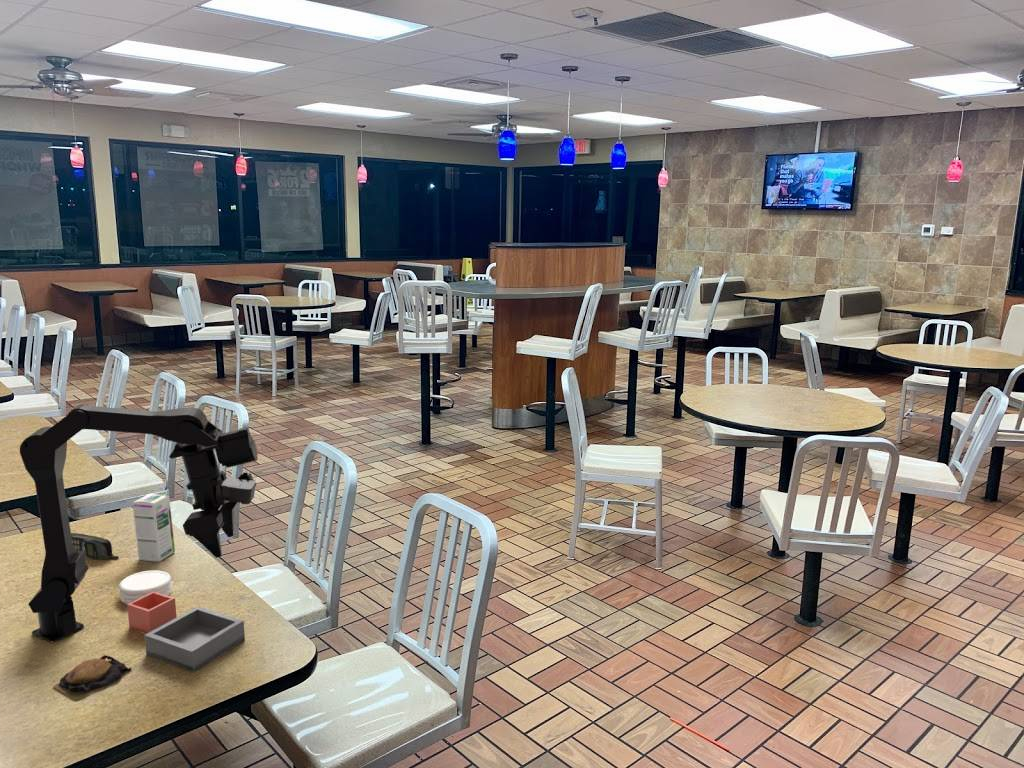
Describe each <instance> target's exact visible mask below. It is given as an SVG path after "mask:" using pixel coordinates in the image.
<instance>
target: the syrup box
mask: <svg viewBox="0 0 1024 768" xmlns="http://www.w3.org/2000/svg"><path fill="white" fill-rule="evenodd" d="M132 510H133V511H132V512H133V519H134V527H135V528H134V529H135V537H136V545H137V555H138V560H141V561H146V562H148V561H149V562H158V563H160V562H162V560H164V559H166V558H167V557H169V556H170V555H172V554H175V552H176V548H175V547H176V546H175V541H174V537H175V536H174V530H173V529H174V528H173V519H172V511H171V500H170V495H168V494H163V493H147V494H146V495H145V496H142V497H141V498H139V499H137V500H134V501H133V502H132Z"/></svg>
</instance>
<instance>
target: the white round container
mask: <svg viewBox="0 0 1024 768" xmlns="http://www.w3.org/2000/svg"><path fill="white" fill-rule="evenodd" d="M118 589H119V592H118V593H119V600H120V601H121V602H122V603H123V604H124V605H125V604H126V605H127V604H129V603H131V602H133V601H135V600H137V599H139V598H141V597H143V596H145V595H147V594H149V593H151V592H153V591H154V592H157V593H160V594H164V595H167V596H170V595H171V593H172V590H173V587H172V577H171V575H170V574H169V573H168V572H166V571H163V570H155V569H154V570H143V571H139V572H136V573H132V574H130V575H128V576H127V577H125V578H124V579H122V580H121V581H120V582H119V585H118Z"/></svg>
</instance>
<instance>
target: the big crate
mask: <svg viewBox="0 0 1024 768" xmlns="http://www.w3.org/2000/svg"><path fill="white" fill-rule="evenodd" d="M244 622H245V621H244V620H242V619H239V618H236V617H233V616H230V615H227V614H224V613H220V612H217V611H214V610H211V609H207V608H204V607H201V606H195V607H194V608H192V609H190V610H189V611H185V613H183V614H180V615H179V616H177V618H175V619H173V620H171V621H169V622H168V623H166V624H164V625H162V626H160V627H158V628H157V629H155V630H153V631H151V632H149V633H147V634H145V633H144V646H145V655H146V656H148V657H150V658H153V659H156V660H158V661H161V662H164V663H165V664H166V663H167V664H170V665H172V666H175V667H177V668H180V669H183V670H186V671H189V672H192V673H195V672H198V670H200V669H201V668H204V666H206V665H208V664H209V663H211V662H212V661H214V660H216V659H218V658H220V656H222V655H223V654H225V653H227V652H229V651H230V650H231V649H233V648H235V647H237V646H238V645H239V644H241V643H243V642H245V640H246V638H245V637H246V634H245V623H244Z"/></svg>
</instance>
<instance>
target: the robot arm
mask: <svg viewBox="0 0 1024 768" xmlns="http://www.w3.org/2000/svg"><path fill="white" fill-rule="evenodd" d="M82 430H89V431H90V430H94V431H104V432H105V431H106V432H118V433H128V434H129V433H131V434H142V435H143V434H144V435H152V436H155V437H159V438H161V439H164V440H165V441H168V442H174V443H175V445H174V447H173V450H172V451H171V453H170V454H169V459H176V458H180V457H181V459H182V462H183V466H184V469H185V472H186V475H187V479H188V483H187V484H186V485H185V486H186V490H187V491H190V490H191V492H192V497H193V499H194V502H193V504H192V508H193V510H194V512H191V513H190V514H189V516H188V517H187V518H186V519H185V521H184V523H183V524H182V528H183V530H184V535H186V536H189V537H193V538H194V539H195V540H197V541H198V542H199V544H201V545H202V546H203V547H204V548H206V550H207V551H209V553H210V554H212V556H214V557H215V558H217V559H218V558H221V557H222V555H223V554H222V553H223V552H222V545H221V544H222V543H221V536H220V530H222V531H223V532H224V534H225V535H226V537H227V538H232V537H234V535H235V527H234V526H235V522H234V520H235V517H234V516H235V507H236V505H237V504H242V505H249V504H251V503H252V500H253V499H254V498H255V491H256V487H257V483H256V479H254V478H253V476H252V473H251V471H242V472H241V473H240V475H239V476H238V478H237V477H236V476H234V477H233V478H230V477H229V478H228V476H227V474H226V472H224V470H220V468H219V464H220V465H221V466H222V467H225V468H227V469H229V468H233V467H237V466H241V465H245V464H250V463H255V462H258V450H257V445H256V442H255V439H253V436H252V434H251V432H250V430H249V427H247V426H245V427H240V428H239V429H236V430H233V431H228V432H224V433H223V430H222V429H220V428H219V427H217V425H215V424H213V423H212V422H210V421H209V420H208V418H207V416H206V414H205V413H204V412H203V411H202V410H201V409H199V408H197V407H182V408H179V407H178V408H170V409H166V410H159V411H157V410H156V411H155V410H154V411H153V410H141V409H132V408H131V409H130V408H121V407H118V408H117V407H108V406H107V407H106V406H96V405H95V406H94V405H89V404H86V403H82V404H79V405H77V406H75V407H74V408H73V409H71V410H70V411H69V412H68V414H67V415H66V416H65V417H63V418H62V419H60V420H58V422H56V423H55V424H54V425H53V426H44V427H41V428H39V429H37V430H36V431H35V432H32V433H31V434H30V435H29V436H27V437H26V438H25V439H24V440H23V441H21V444H20V445H19V455H20V458H21V460H22V463H23V466H24V468H25V471H26V472H27V473H28V474H29V476H30V478H32V480H33V482H34V485H35V492H36V499H37V506H38V512H39V519H40V524H41V532H42V538H43V545H44V552H45V553H44V555H45V556H44V559H43V565H42V570H41V578H40V589H38V591H37V593H35V594H34V596H33V597H32V599H30V601H29V602H28V607H29V608H30V610H31V611H32V613H33V614H37V618H38V625H39V627H38V628H36V629H33V630H32V631H31V634H32V636H35V637H38V638H40V639H43V640H45V641H48V642H51V643H55V642H57V641H58V640H61V639H62V638H65V637H66V636H69V635H71V634H73V633H75V632H76V631H79V630H81V629H83V628H85V625H84V623H82V622H78V621H77V619H76V613H75V611H76V610H75V607H74V606H75V604H74V601H73V597H72V595H73V594H74V593H75V591H76V590H77V588H78V587H79V586H80V584H81V583H82V582H83V580H84V579H85V576H86V573H87V572H88V570H89V568H90V567H89V566H88V563H87V560H86V559H87V557H86V551H85V550H84V551H80V552H78V551H77V550H76V549H75V547H74V546H73V543H72V538H71V533H72V530H71V525H70V518H69V512H68V505H67V498H66V497H67V495H66V490H65V484H64V475H63V473H64V469H65V463H66V459H67V447H68V441H69V440H70V439H72V438H74V436H76V435H77V434H78V433H80V432H81V431H82ZM214 450H215V451H214ZM218 463H219V464H218ZM195 510H198V511H195Z"/></svg>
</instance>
